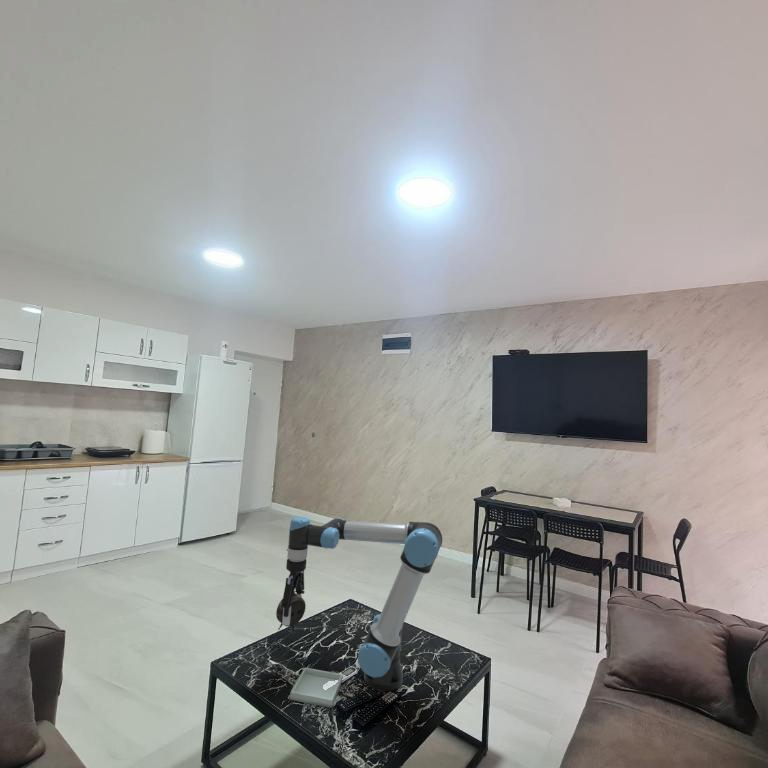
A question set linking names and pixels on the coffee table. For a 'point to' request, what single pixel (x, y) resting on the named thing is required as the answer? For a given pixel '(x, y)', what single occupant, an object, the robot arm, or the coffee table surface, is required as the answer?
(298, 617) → the alarm clock
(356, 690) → the coffee table surface
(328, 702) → the tray
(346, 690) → the coffee table surface
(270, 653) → the coffee table surface
